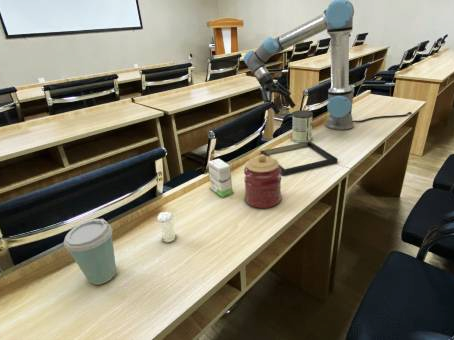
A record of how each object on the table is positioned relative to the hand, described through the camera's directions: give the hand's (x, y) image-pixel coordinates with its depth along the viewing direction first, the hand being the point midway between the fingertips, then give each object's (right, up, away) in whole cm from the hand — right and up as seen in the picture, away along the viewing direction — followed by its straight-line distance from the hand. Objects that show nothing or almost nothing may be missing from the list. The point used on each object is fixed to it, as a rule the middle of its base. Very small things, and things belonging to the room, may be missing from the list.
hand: (286, 109), depth 162 cm
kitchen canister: (-12, -42, -50) cm, 67 cm away
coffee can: (+8, -15, 0) cm, 17 cm away
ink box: (-28, -40, -45) cm, 66 cm away
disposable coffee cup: (-55, -59, -81) cm, 114 cm away
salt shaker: (-41, -53, -69) cm, 96 cm away
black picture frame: (+4, -26, -21) cm, 34 cm away
